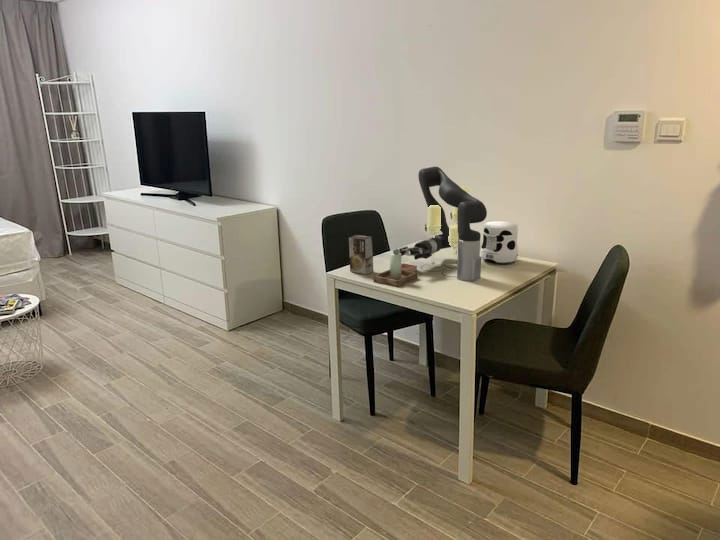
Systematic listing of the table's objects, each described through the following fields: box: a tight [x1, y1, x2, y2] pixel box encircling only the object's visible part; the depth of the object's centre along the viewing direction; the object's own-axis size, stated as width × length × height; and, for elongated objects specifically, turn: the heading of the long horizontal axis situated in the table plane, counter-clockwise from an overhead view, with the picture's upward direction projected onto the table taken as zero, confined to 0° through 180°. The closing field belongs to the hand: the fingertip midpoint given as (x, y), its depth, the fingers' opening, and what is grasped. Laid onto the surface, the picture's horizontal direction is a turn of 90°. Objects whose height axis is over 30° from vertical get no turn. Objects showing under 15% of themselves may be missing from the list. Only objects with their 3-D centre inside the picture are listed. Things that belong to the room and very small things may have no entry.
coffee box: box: [348, 234, 374, 275], centre depth 244 cm, size 9×6×16 cm
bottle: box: [389, 248, 402, 280], centre depth 230 cm, size 5×5×13 cm
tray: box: [373, 269, 418, 288], centre depth 232 cm, size 13×15×2 cm
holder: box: [401, 262, 418, 272], centre depth 245 cm, size 7×7×2 cm
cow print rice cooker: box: [480, 220, 519, 265], centre depth 255 cm, size 17×17×18 cm
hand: (406, 255), depth 236 cm, fingers open, 8 cm apart
